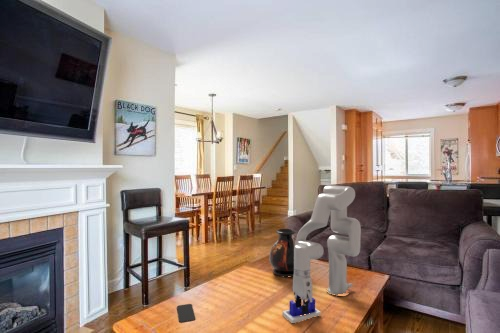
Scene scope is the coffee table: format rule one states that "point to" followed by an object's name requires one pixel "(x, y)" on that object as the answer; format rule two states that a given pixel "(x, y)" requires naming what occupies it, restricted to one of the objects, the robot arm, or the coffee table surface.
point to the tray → (300, 318)
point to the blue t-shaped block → (300, 308)
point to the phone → (185, 313)
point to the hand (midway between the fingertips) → (301, 309)
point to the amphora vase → (283, 253)
